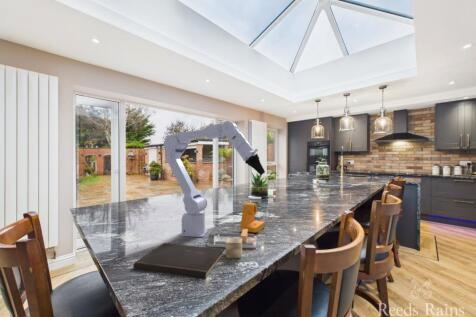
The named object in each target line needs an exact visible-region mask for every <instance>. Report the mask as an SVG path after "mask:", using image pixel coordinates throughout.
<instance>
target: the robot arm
mask: <svg viewBox="0 0 476 317" xmlns="http://www.w3.org/2000/svg"><path fill="white" fill-rule="evenodd" d="M225 137H226V138H227V139H228V140H229V142H230V144H231V145H232V146H233V147H234V150H236V152H237V153H238V155H239V156H240V157H241V158H242V161H244V163H245V164H247V166H249V167H251V168H252V169H253V170H254V171H256V172H257V174H259V175H260V176H262V175H264V174H265V173H266V171H265V169H264V167H263V165H262V163H261V160H260V157H259V154H258V153H257V152H258V151H259V149H258V148H255V149H254V148H253V147H252V145H251V144H250V143H249V141H248V139H246V137H245V136H244V135H243V133H242V132H240V130H239V127H238V126H237V124H236V123H234V122H233V121H230V120H227V121H221V122H220V123H216V124H215V123H209V125H206V126H205V128H203V129H198V130H197V129H196V130H190V131H189V130H188V131H182V132H175V133H174V134H169V135H167V136H166V137H165V139H164V142H163V147H164V149H165V157H166V162H167V163H168V165H169V167H170V169H171V171H172V173H173V175H174V178H175V179H176V181H177V183H178V185H179V188H180V189H181V191H182V193H183V198H182V202H183V204H184V205H183V206H184V210H185V212H184V213H183V214H182V216H181V235H180V236H181V237H194V238H195V237H199V238H203V237H204V236H205V235H206V234H207V232H208V231H209V230H208V229H206V218H205V217H206V215H205V212H206V210H205V209H207V207H208V201H207V198H206V197H205V196H204V195H202V192H200V191H199V190H198V189H196V187H195V185H194V183H193V181H192V178H191V177H190V175H189V173H188V171H187V169H186V168H185V166H184V164H183V162H182V160H181V157H182V155H183V154H184V152H185V151H186V149H188V147H189V145H190V144H191V142H192V141H193V140H196V139H197V140H198V139H201V138H207V139H209V140H212V139H218V138H225Z"/></svg>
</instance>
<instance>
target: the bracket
mask: <svg viewBox="0 0 476 317" xmlns="http://www.w3.org/2000/svg"><path fill="white" fill-rule="evenodd" d="M257 214H258V205H257V203H256V202H254V203H253V202H244V204H243V207H242V213H241V221H240V231H242V230H243V229H248V233H260V232H261V231H262V230H263V229H264V227H265V221H263V220H256V218H255V216H256V215H257Z"/></svg>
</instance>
